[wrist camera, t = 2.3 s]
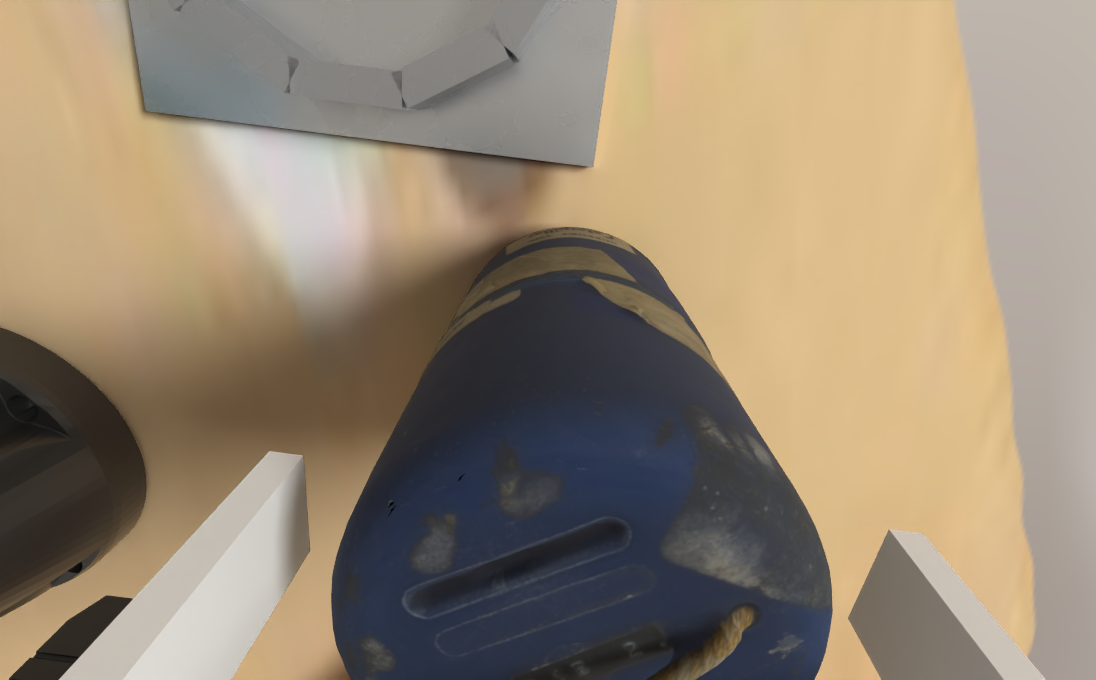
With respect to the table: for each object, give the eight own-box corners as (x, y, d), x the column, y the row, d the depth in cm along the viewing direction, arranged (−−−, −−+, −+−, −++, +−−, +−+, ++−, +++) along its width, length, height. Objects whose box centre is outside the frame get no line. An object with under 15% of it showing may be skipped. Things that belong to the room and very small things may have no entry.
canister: (443, 242, 24) (152, 537, 7) (658, 197, 23) (911, 420, 6) (496, 426, 27) (384, 911, 11) (684, 395, 26) (888, 878, 10)
